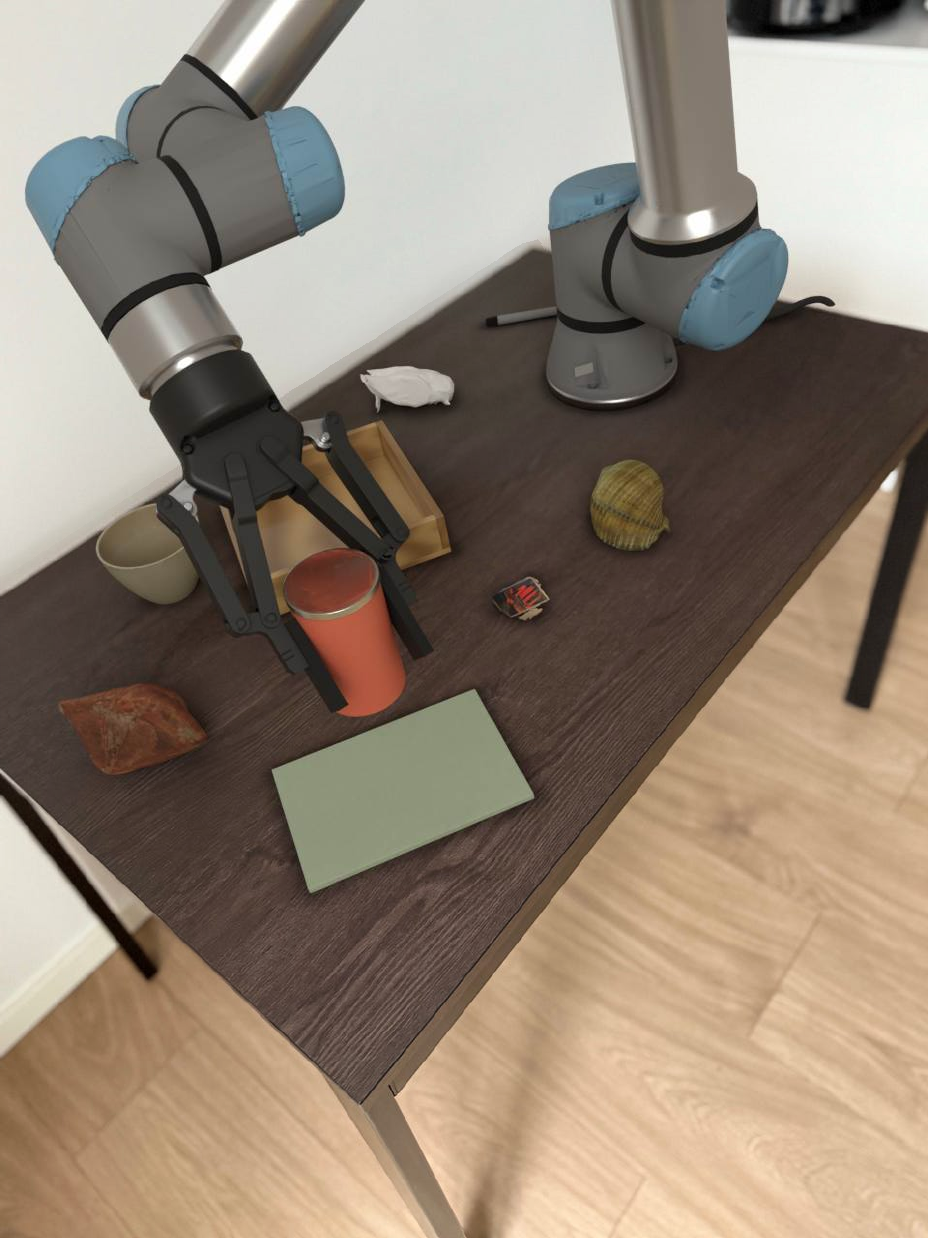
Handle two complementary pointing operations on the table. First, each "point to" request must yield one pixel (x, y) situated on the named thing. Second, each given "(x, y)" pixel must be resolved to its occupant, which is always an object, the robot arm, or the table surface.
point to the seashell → (628, 506)
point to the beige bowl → (147, 557)
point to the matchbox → (521, 598)
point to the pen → (521, 316)
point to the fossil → (133, 726)
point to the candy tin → (348, 626)
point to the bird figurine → (409, 386)
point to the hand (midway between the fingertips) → (382, 681)
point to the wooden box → (302, 535)
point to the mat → (397, 788)
